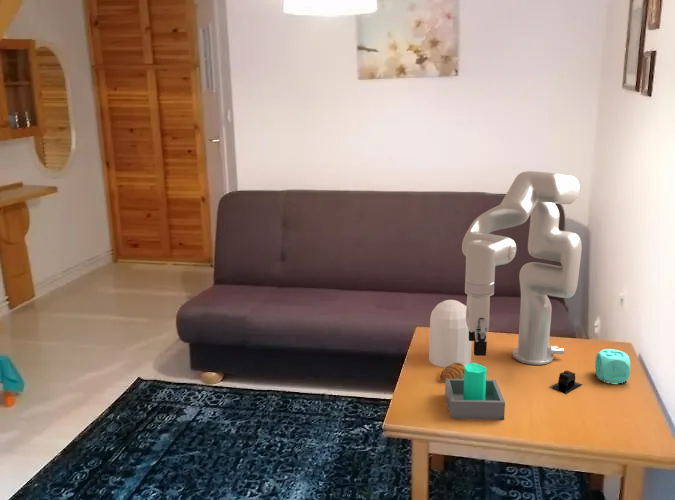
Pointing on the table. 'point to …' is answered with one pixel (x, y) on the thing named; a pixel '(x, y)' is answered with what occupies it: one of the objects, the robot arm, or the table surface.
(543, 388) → the table surface
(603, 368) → the decorative dice
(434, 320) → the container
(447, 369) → the pastry
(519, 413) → the table surface
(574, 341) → the table surface
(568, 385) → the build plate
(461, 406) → the bin
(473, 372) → the candle
